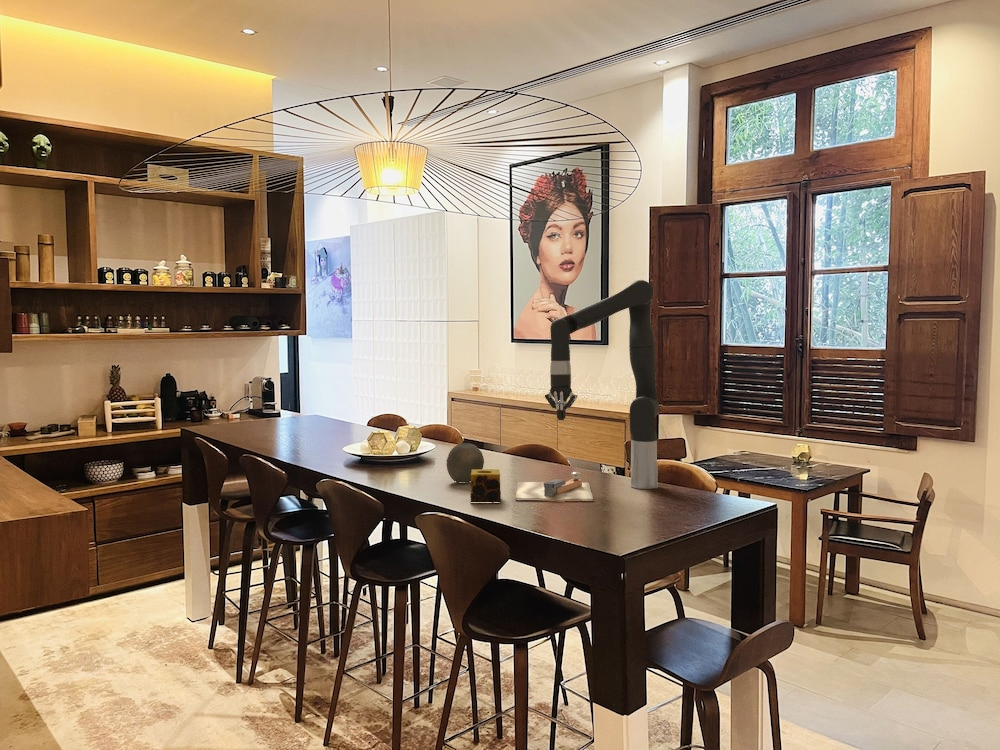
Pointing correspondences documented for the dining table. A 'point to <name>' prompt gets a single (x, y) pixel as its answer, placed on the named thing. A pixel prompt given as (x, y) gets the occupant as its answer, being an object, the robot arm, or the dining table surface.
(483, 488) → the candle
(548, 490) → the block
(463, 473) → the dark grey ball
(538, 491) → the board
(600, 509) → the dining table surface
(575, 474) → the silver metal ball
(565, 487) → the link
